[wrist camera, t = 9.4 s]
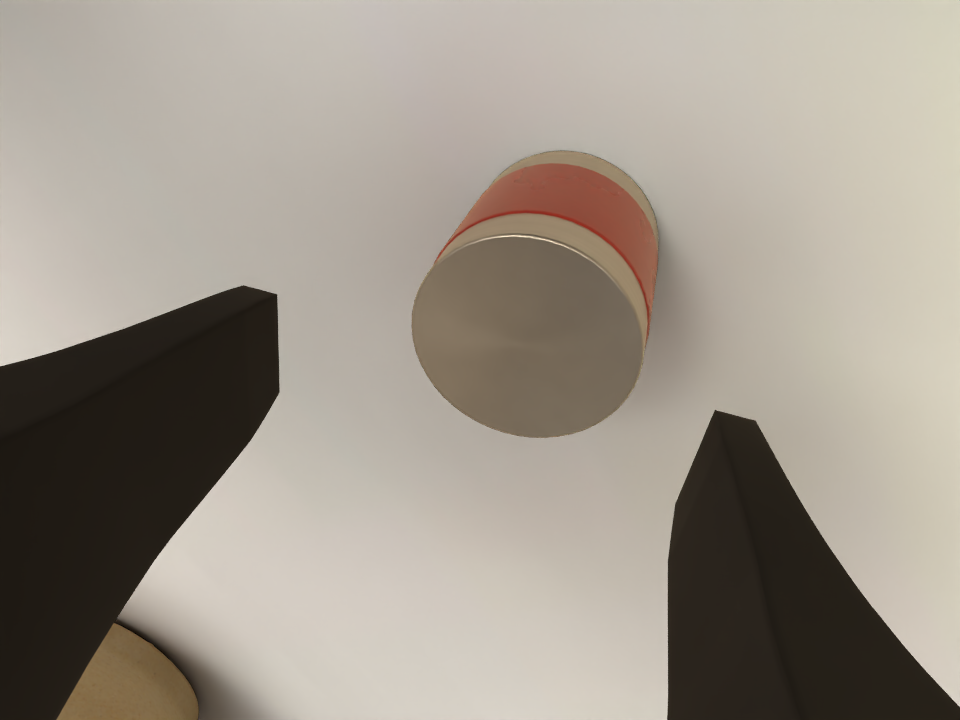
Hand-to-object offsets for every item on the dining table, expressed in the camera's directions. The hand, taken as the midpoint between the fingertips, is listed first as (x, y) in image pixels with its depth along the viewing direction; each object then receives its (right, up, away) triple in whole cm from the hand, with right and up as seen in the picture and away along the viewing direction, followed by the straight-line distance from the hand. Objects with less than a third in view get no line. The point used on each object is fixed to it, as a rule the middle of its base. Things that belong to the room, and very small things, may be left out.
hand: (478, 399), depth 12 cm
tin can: (+2, +4, +6) cm, 8 cm away
